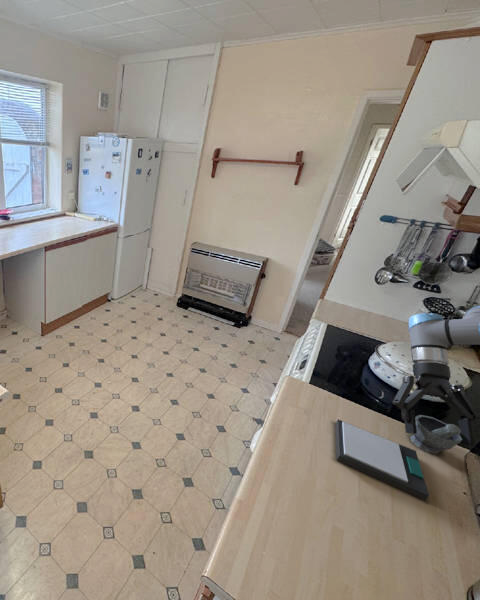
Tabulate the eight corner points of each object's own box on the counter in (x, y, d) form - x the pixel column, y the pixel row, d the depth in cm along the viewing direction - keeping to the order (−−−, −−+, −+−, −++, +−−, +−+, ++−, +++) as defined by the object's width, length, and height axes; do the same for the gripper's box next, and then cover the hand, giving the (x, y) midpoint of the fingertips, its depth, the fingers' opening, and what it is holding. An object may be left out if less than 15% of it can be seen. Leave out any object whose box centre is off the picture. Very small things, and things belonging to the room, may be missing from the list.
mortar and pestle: (399, 426, 100) (420, 397, 95) (439, 440, 96) (463, 411, 91) (410, 452, 91) (433, 422, 86) (454, 469, 87) (482, 438, 82)
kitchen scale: (411, 455, 91) (416, 449, 89) (424, 500, 79) (430, 494, 77) (335, 423, 99) (338, 417, 98) (336, 460, 87) (340, 453, 86)
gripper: (466, 374, 98) (477, 448, 91) (374, 358, 102) (378, 428, 96) (493, 371, 91) (507, 451, 84) (392, 354, 95) (399, 429, 89)
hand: (439, 439), depth 90 cm, fingers open, 13 cm apart
